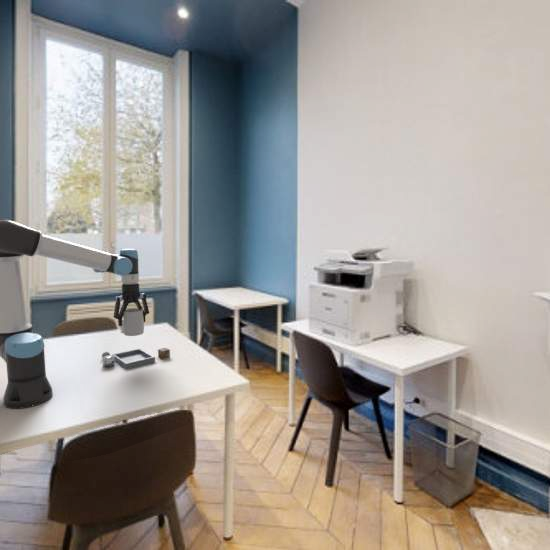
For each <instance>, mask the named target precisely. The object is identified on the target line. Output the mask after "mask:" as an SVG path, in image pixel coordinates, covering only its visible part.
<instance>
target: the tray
mask: <svg viewBox="0 0 550 550" xmlns="http://www.w3.org/2000/svg"><path fill="white" fill-rule="evenodd" d="M111 355H112V356H114V361H115V362H116V363H117V364H118V365H120V366H121V367H122V368H124V369H125V370H128V369H132V368H135V367H140V366H144V365H148V364H153V363H156V357H155V356H154V355H152V354H150V353H149V352H147V351H146V350H143V349H142V348H137V349H132V350H126V351H122V352H117V353H112V354H111Z"/></svg>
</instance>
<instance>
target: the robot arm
mask: <svg viewBox="0 0 550 550" xmlns="http://www.w3.org/2000/svg"><path fill="white" fill-rule="evenodd" d="M24 256H29V257H32V258H33V257H35V256H40V257H44V258H48V259H52V260H56V261H60V262H65V263H67V264H68V263H69V264H73V265H77V266H81V267H85V268H90V269H92V270H93V272H94V273H97V274H98V273H102V274H103V273H109V274H113V275H117V276H120V278H121V279H120V281H121V283H122V284H121V295H119V296H115V297H114V300H115V305H114V310H113V311H114V312H113V318H114V319H116V320H117V324H118V326H119V327H120V333H121V334H124V333H125V331H124V318H123V315H124V312H125V310H126V309H127V307H128V306H129V304H135V306H136V308H139V309H140V310H141V309H142V310H143V328H144V329H145V322H146V317H147V315H148V314H150V310H149V306H148V302H147V294H146V293H144V292H142V293H140V283H139V282H140V277H139V276H140V273H139V254H138V249H136V248H122V249H120V250H119V253H118V254H117V253H116V254H115V253H114V254H112V253H110V252H105V251H101V250H98V249H95V248H91V247H88V246H84V245H82V244H81V245H80V244H77V243H73V242H70V241H66V240H62V239H59V238H55V237H52V236H49V235H45V234H43V233H42V232H41V230H37V229H34V228H31V227H29V226H26V225H24V224H21V223H20V222H19V223H18V222H17V221H14V220H9V219H0V357H1V359H2V360H3V361H4V362H5V364H6V375H7V384H6V388H5V390H4V394H3V398H2V401H3V406H4V405H5V406H6V407H5V406H4V407H5V408H8V407H9V409H22V408H21V407H26V408H28V407H27V406H31V407H33V406H32V405H35V406H37V405H36V404H38V405H40V404H39V403H41V404H43V403H45V402H47V401H49V400H50V399H51V398H52V397H53V387H52V385H51V384H50V383H51V382H50V381H49V379H48V377H47V373H46V358H45V357H46V355H45V342H44V337H43V336H42V335H41V334H38V333H34V330H33V328H34V327H33V324H32V323H30V322H28V319H27V310H26V304H25V303H26V302H25V293H24V286H23V279H22V278H23V277H22V270H21V262H20V261H21V260H22V258H23V257H24ZM140 298H141V299H140ZM139 299H140V300H141V303H142V305H141V303H140V300H139ZM122 300H123V302H122V305H121V301H122ZM48 399H49V400H48ZM46 400H47V401H46ZM42 402H43V403H42Z"/></svg>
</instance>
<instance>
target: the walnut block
mask: <svg viewBox="0 0 550 550" xmlns="http://www.w3.org/2000/svg"><path fill="white" fill-rule="evenodd" d="M157 357H158V358H159V359H161V360H165V359H169V358H171V351H170V349H169V348H168V347H163V348H158V349H157Z"/></svg>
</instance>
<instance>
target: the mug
mask: <svg viewBox="0 0 550 550" xmlns="http://www.w3.org/2000/svg"><path fill="white" fill-rule="evenodd" d="M143 310H144V309H143ZM143 310H142V309H141V310H140V309H139V308H137V307H136V308H128V309H127V308H126V310H125V312H124V315H123V318H122V319H124V331H125V333H124V336H128V337H135V336H140V335H143V334H144V332H145V331H144V330H145V327H144V328H143Z"/></svg>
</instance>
